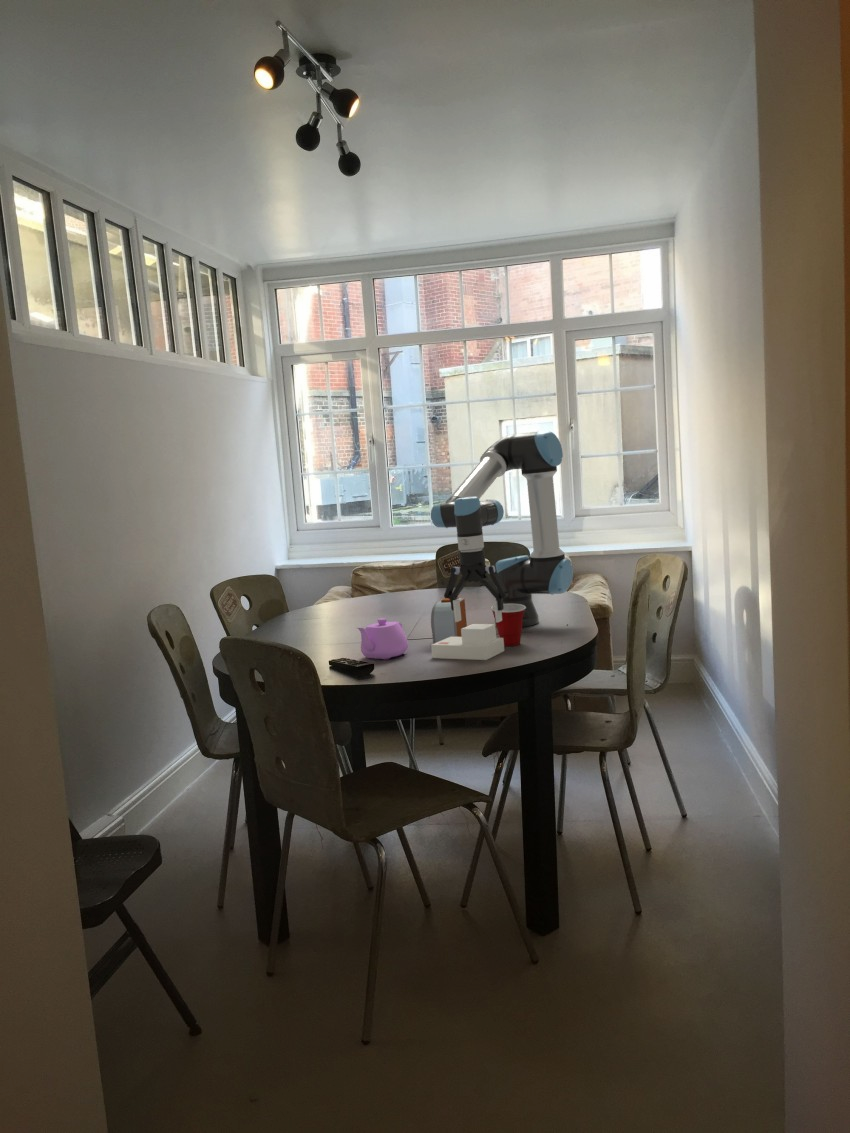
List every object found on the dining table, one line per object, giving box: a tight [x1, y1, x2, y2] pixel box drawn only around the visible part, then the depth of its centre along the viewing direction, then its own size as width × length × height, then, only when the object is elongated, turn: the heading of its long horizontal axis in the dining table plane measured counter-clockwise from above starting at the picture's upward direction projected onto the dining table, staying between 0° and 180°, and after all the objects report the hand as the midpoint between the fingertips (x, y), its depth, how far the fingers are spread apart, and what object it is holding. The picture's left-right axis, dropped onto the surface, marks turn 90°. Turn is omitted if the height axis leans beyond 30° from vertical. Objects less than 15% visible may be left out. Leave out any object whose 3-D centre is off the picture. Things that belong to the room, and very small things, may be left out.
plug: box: [461, 623, 497, 645], centre depth 264 cm, size 8×8×8 cm
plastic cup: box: [490, 604, 526, 647], centre depth 275 cm, size 11×11×12 cm
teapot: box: [357, 617, 409, 661], centre depth 273 cm, size 20×13×12 cm, turn 142°
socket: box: [430, 637, 505, 661], centre depth 266 cm, size 12×18×4 cm, turn 59°
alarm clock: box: [430, 596, 468, 644], centre depth 289 cm, size 15×8×14 cm, turn 164°
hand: (478, 621), depth 264 cm, fingers open, 13 cm apart
